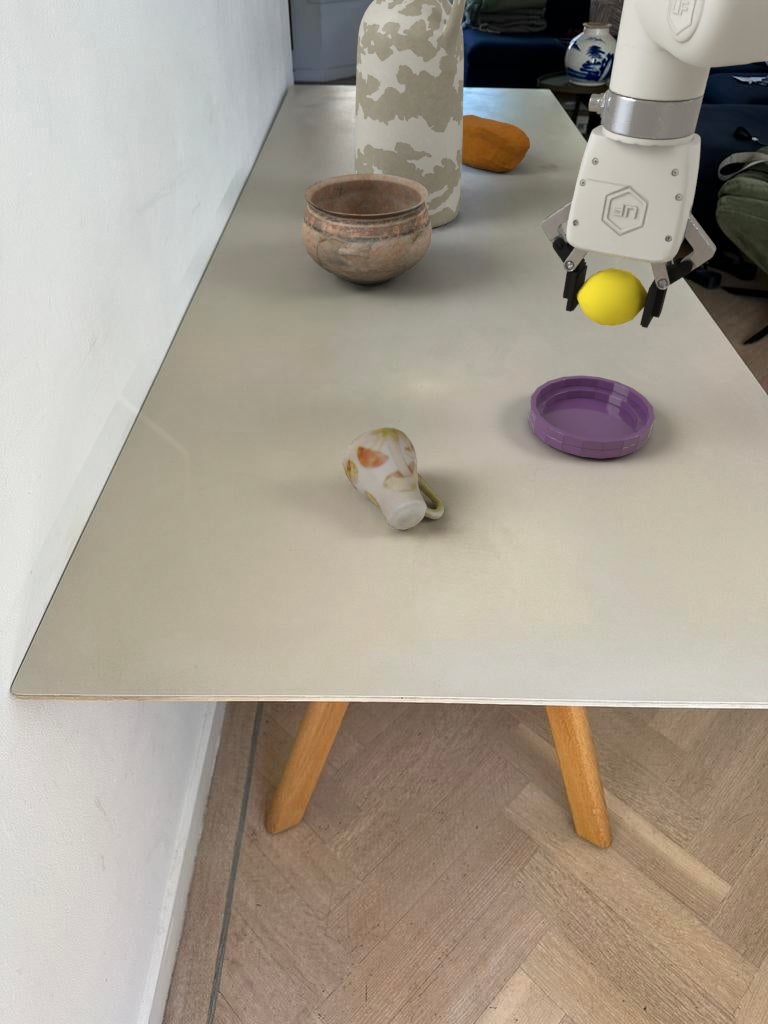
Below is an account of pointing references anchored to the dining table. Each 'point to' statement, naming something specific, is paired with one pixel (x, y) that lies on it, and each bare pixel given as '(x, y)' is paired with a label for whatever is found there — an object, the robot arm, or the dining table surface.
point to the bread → (492, 144)
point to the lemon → (612, 297)
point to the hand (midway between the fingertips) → (609, 312)
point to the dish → (591, 416)
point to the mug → (390, 477)
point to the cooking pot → (366, 226)
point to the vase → (412, 97)
